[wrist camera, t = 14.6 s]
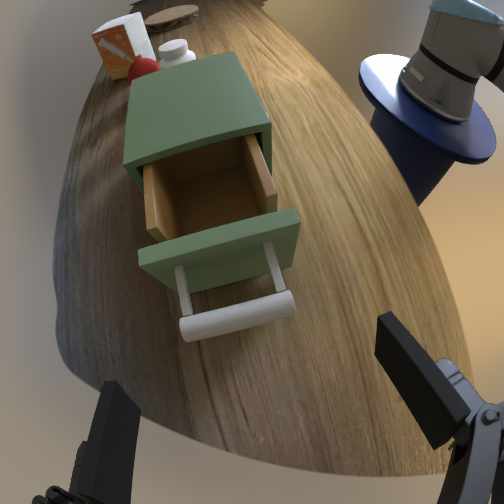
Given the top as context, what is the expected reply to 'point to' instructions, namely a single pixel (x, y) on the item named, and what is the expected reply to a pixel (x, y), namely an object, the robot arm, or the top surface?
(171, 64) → the supplement bottle
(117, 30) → the small box
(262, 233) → the drawer
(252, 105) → the cabinet
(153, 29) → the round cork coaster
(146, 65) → the onion
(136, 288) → the top surface
